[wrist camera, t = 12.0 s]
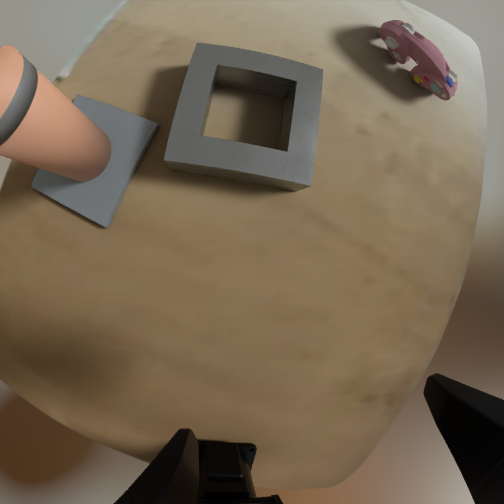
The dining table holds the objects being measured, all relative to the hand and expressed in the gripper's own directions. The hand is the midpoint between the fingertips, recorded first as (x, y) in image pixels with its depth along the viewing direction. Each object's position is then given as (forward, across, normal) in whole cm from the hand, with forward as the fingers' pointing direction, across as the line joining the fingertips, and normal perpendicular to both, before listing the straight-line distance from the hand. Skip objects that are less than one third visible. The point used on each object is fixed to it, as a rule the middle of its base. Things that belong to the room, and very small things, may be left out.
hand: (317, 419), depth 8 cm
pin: (+11, +12, -12) cm, 21 cm away
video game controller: (+18, -18, -19) cm, 31 cm away
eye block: (+14, 0, -12) cm, 19 cm away
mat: (+12, +12, -12) cm, 21 cm away
